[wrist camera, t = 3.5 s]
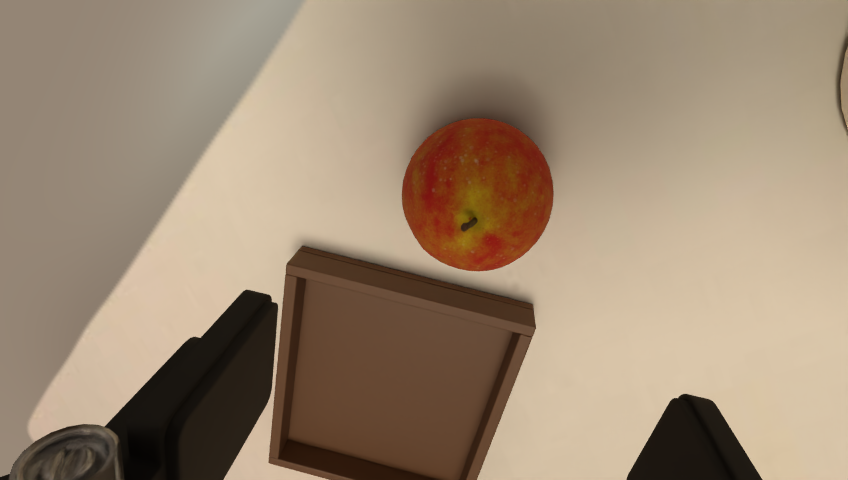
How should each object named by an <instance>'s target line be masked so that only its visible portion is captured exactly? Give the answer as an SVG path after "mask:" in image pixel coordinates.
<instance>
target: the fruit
mask: <svg viewBox="0 0 848 480" xmlns="http://www.w3.org/2000/svg"><path fill="white" fill-rule="evenodd" d="M402 204H403V210H404V214H405V217H406V220H407V222H408V224H409V226H410V228H411V230H412V232H413V234H414V236H415V238H416V239H417V241H418V242H419V244H420V245H421V247H422V248H423V249H424V250H425V251H426V252H428V253H429V254H430V255H431V256H432V257H434V258H436V259H437V260H439V261H440V262H442V263H445V264H447V265H449V266H452V267H455V268H458V269H463V270H468V271H488V270H493V269H497V268H500V267H503V266H505V265H507V264H510V263H512V262H513V261H515V260H517V259H518V258H520V257H521V256H522V255H524V254H525V253H526V252H527V251H529V250H530V248H531V247H532V246H533V245H534V244H535V243H536V242H537V241H538V239H539V238H540V236H541V235H542V233H543V232H544V230H545V227H546V225H547V223H548V221H549V218H550V214H551V210H552V206H553V182H552V177H551V173H550V169H549V166H548V164H547V162H546V160H545V158H544V156H543V154H542V153H541V151H540V150H539V148H538V147H537V145H536V144H535V143H534V142H533V141H532V140H531V139H530V138H529V137H528V136H526V135H525V134H524V133H522V132H521V131H520V130H518V129H517V128H515V127H513V126H511V125H509V124H507V123H503V122H500V121H497V120H492V119H485V118H472V119H466V120H460V121H457V122H454V123H451V124H448V125H446V126H445V127H443V128H441V129H439V130H437V131H436V132H435V133H433V134H432V135H431V136H429V137H428V138H427V139H426V140H425V141H424V142H423V143H422V144H421V145H420V146H419V148H418V149H417V150H416V152H415V153H414V155H413V156H412V158H411V160H410V163H409V165H408V167H407V169H406V173H405V176H404V180H403V188H402Z"/></svg>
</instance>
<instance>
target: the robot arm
mask: <svg viewBox="0 0 848 480" xmlns="http://www.w3.org/2000/svg"><path fill="white" fill-rule="evenodd" d="M840 85H841V108H842V111H843V115H844V118H845V122H846V125H847V129H848V47H847V50H846V53H845V58H844V64H843V69H842V75H841V81H840ZM277 314H278V305H277V303H274V302H272V299H271V296H270V295H267V294H263V293H259V292H255V291H251V290H245V291H243V292H242V293H241V294H240V296H239V297H238V298H237V299H236V300H235V301H234V302H233V303H232V304H231V305H230V306H229V308H228V309H227V310H226V311H225V312H224V313H223V314H222V315H221V316H220V317H219V318H218V320H217V321H216V322H215V323H214V324H213V325H212V326H211V327H210V328H209V329H208V331H207V332H206V333H205V334H204V335H203V336H202V337H201V338H198V337H192V338H190V339H189V340H187V341H186V342H185V343H184V344H183V345H182V346H181V347H180V348H179V349H178V350H177V351H176V352H175V353H174V354H173V355H172V357H171V358H170V359H169V360H168V361H167V362H166V363H165V364H164V365H163V366H162V367H161V368H160V369H159V370H158V371H157V372H156V373H155V374H154V375H153V376H152V378H151V379H150V380H149V381H148V382H147V383H146V384H145V385H144V386H143V387H142V388H141V389H140V390H139V391H138V392H137V393H136V394H135V395H134V396H133V397H132V399H131V400H130V401H129V402H128V403H127V404H126V405H125V406H124V407H123V408H122V409H121V410H120V411H119V412H118V413H117V414H116V415H115V416H114V417H113V418H112V419H111V421H110V422H109V423H108V424H107V425H106V426H105V427H103V426H100V425H89V424H82V425H76V426H70V427H66V428H63V429H60V430H57V431H54V432H51V433H50V434H48V435H46V436H44V437H42V438H41V439H39V440H37V441H35V442H34V443H33V444H32V445H31V446H29V447H28V448H27V449H26V450H24V451H23V452H22V454H21V455H20V456H19V458H18V459H17V460H16V461H15V463H14V464H13V467H12V469H11V472H10V474H8V475H5V476H2V477H0V480H223V479H224V478H225V476H226V474H227V472H228V471H229V469H230V467H231V465H232V464H233V462H234V460H235V459H236V457H237V455H238V453H239V452H240V450H241V448H242V446H243V445H244V443H245V441H246V439H247V438H248V436H249V434H250V433H251V431H252V429H253V427H254V426H255V424H256V422H257V420H258V419H259V417H260V415H261V413H262V412H263V410H264V408H265V407H266V405H267V403H268V400H269V397H270V394H271V389H272V378H273V365H274V352H275V340H276V327H277ZM627 480H762V478H761V477H760V475H759V474H758V472H757V470H756V469H755V467H754V465H753V464H752V462H751V461H750V459H749V457H748V456H747V454H746V453H745V451H744V449H743V448H742V446H741V445H740V443H739V441H738V440H737V438H736V437H735V435H734V433H733V432H732V430H731V428H730V427H729V425H728V424H727V422H726V420H725V419H724V417H723V416H722V414H721V412H720V411H719V409H718V408H717V406H716V404H715V403H714V402H713V401H711V400H709V399H705V398H701V397H697V396H693V395H688V394H682V395H681V396H679V398H674V399H672V400H671V401H670V403H669V404H668V406H667V408H666V410H665V411H664V413H663V415H662V417H661V418H660V420H659V422H658V424H657V425H656V427H655V429H654V431H653V432H652V434H651V436H650V438H649V439H648V441H647V443H646V445H645V446H644V448H643V450H642V451H641V453H640V455H639V457H638V458H637V460H636V462H635V464H634V465H633V467H632V469H631V471H630V472H629V474H628V477H627Z"/></svg>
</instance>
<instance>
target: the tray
mask: <svg viewBox="0 0 848 480" xmlns="http://www.w3.org/2000/svg"><path fill="white" fill-rule="evenodd" d="M535 329H536V325H535V318H534V311H533V305H532V304H528V303H524V302H520V301H516V300H512V299H508V298H504V297H500V296H496V295H493V294H489V293H485V292H481V291H477V290H473V289H469V288H465V287H461V286H457V285H453V284H449V283H445V282H441V281H437V280H433V279H430V278H426V277H422V276H418V275H414V274H410V273H406V272H402V271H398V270H394V269H390V268H386V267H382V266H378V265H374V264H370V263H367V262H363V261H359V260H355V259H351V258H347V257H343V256H339V255H335V254H331V253H327V252H323V251H319V250H315V249H311V248H307V247H304V246H302V247H301V248H300V249H299V251H298V252H297V253H296V254H295V255H294V256H293V257H292V258H291V260H290V261H289V262H288V263H287V265H286V275H285V286H284V298H283V309H282V320H281V331H280V342H279V353H278V364H277V375H276V386H275V397H274V408H273V419H272V430H271V441H270V452H269V463H270V464H274V465H278V466H281V467H285V468H289V469H292V470H296V471H300V472H303V473H307V474H311V475H314V476H318V477H322V478H326V479H329V480H477V478H478V475H479V473H480V470H481V467H482V465H483V462H484V460H485V457H486V455H487V452H488V450H489V447H490V444H491V442H492V439H493V437H494V434H495V432H496V429H497V426H498V424H499V421H500V419H501V416H502V414H503V411H504V409H505V406H506V403H507V401H508V398H509V396H510V393H511V391H512V388H513V385H514V383H515V380H516V378H517V375H518V373H519V370H520V367H521V365H522V362H523V360H524V357H525V355H526V352H527V350H528V347H529V344H530V342H531V339H532V336H533V334H534V332H535Z"/></svg>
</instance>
